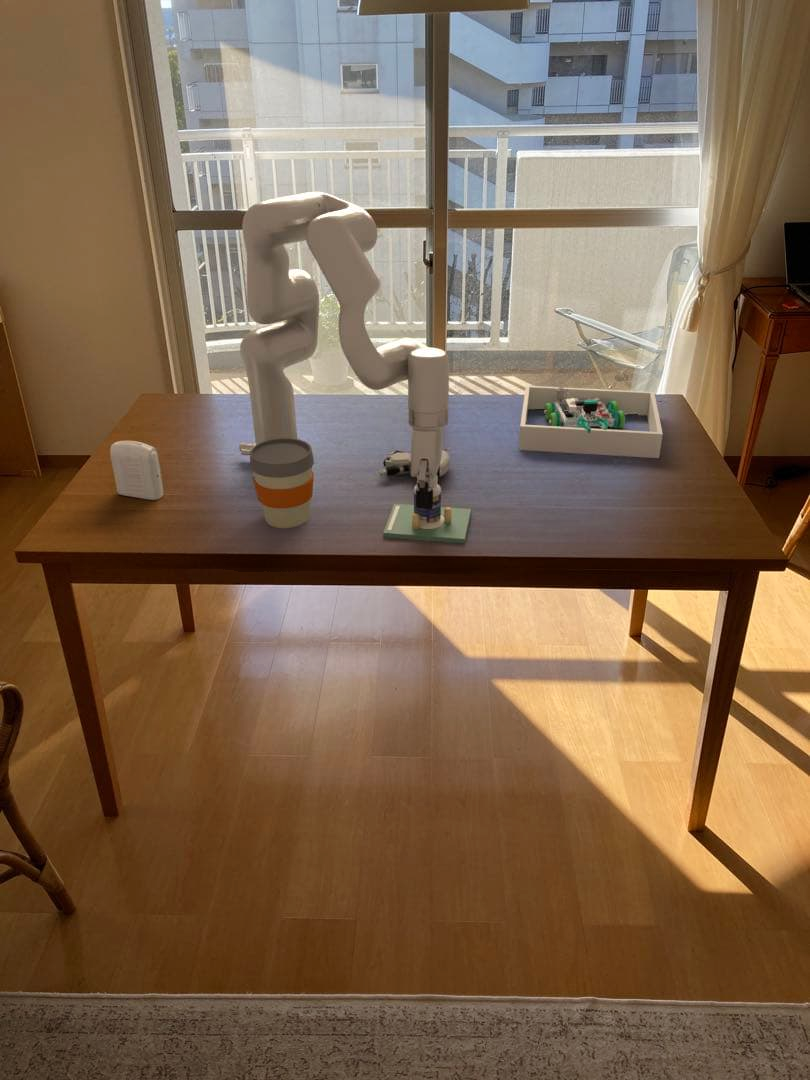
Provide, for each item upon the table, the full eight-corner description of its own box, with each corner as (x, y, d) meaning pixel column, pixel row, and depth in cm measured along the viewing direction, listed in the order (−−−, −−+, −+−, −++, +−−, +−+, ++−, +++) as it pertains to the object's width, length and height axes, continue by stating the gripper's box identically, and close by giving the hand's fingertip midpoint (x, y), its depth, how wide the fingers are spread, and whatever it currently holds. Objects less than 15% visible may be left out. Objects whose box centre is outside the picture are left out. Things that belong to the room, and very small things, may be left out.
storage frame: (518, 449, 205) (520, 426, 202) (524, 407, 227) (525, 385, 224) (659, 458, 200) (662, 434, 197) (650, 414, 222) (654, 391, 219)
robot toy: (378, 486, 192) (445, 487, 189) (376, 467, 190) (443, 469, 187) (390, 462, 202) (454, 463, 199) (388, 444, 200) (453, 445, 197)
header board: (383, 537, 171) (382, 519, 169) (394, 507, 182) (393, 490, 180) (464, 543, 169) (465, 525, 167) (470, 513, 179) (471, 496, 177)
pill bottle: (432, 529, 172) (432, 485, 167) (408, 522, 174) (408, 478, 169) (445, 517, 176) (446, 474, 171) (422, 510, 178) (422, 468, 173)
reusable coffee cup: (304, 536, 172) (299, 467, 164) (246, 528, 175) (237, 460, 167) (326, 506, 182) (322, 440, 175) (271, 499, 185) (264, 434, 178)
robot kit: (560, 454, 202) (563, 416, 197) (540, 412, 224) (542, 377, 219) (639, 451, 203) (644, 413, 198) (612, 409, 224) (616, 375, 219)
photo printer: (167, 493, 189) (158, 440, 182) (157, 502, 185) (147, 449, 179) (126, 487, 191) (115, 435, 185) (115, 495, 188) (104, 443, 181)
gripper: (415, 396, 171) (416, 475, 180) (400, 432, 156) (401, 516, 165) (453, 398, 170) (452, 477, 179) (442, 435, 155) (441, 518, 164)
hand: (428, 495), depth 172 cm, fingers open, 9 cm apart
